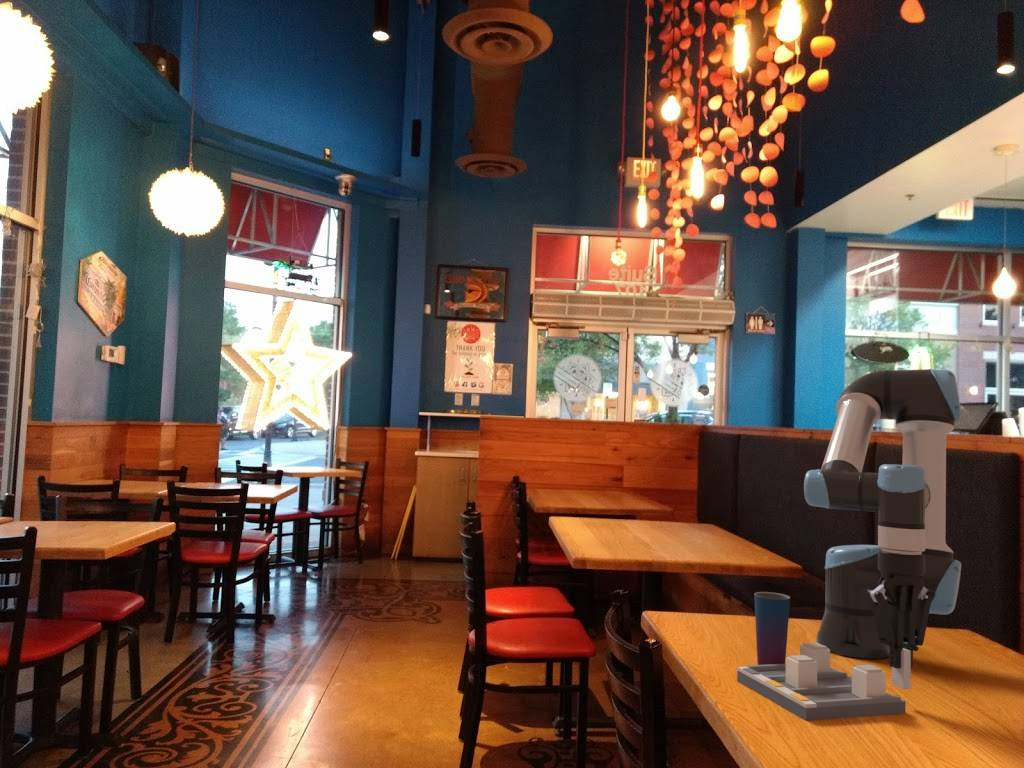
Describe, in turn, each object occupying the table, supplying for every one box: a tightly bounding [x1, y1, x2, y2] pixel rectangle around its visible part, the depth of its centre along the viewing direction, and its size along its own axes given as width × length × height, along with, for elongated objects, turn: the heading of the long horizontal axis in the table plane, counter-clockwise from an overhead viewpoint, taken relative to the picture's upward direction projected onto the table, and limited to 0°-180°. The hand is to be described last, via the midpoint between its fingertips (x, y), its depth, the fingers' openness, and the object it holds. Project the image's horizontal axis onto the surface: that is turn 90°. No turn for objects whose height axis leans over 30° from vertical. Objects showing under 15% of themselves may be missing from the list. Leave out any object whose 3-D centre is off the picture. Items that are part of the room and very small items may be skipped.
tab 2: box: [851, 664, 887, 698], centre depth 128 cm, size 4×4×5 cm
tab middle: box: [785, 654, 817, 688], centre depth 133 cm, size 4×4×5 cm
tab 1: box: [799, 642, 831, 673], centre depth 142 cm, size 4×4×5 cm
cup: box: [753, 591, 791, 665], centre depth 147 cm, size 7×7×15 cm
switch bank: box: [736, 663, 907, 722], centre depth 133 cm, size 20×20×3 cm
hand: (901, 686), depth 130 cm, fingers closed
